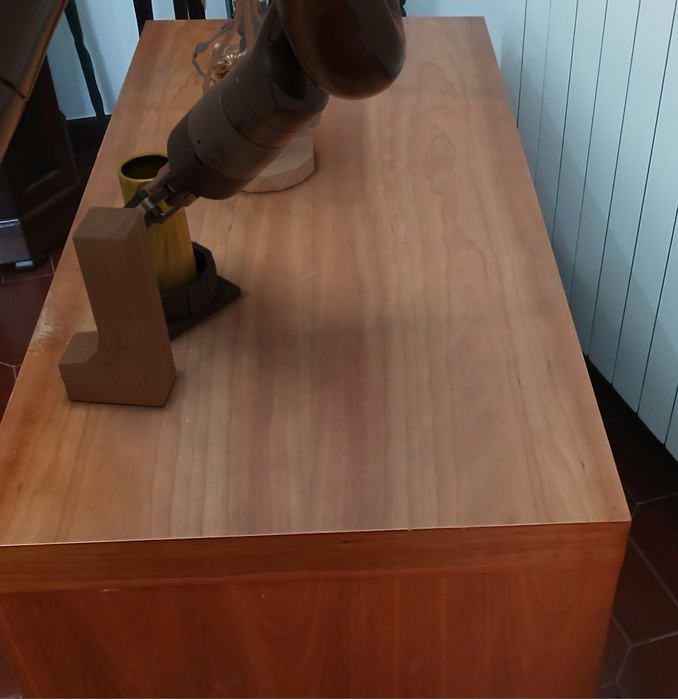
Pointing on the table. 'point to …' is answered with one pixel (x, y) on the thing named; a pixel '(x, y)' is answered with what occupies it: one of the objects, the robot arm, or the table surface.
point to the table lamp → (299, 151)
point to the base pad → (197, 295)
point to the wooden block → (119, 315)
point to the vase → (161, 225)
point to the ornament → (227, 57)
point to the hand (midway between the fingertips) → (149, 217)
